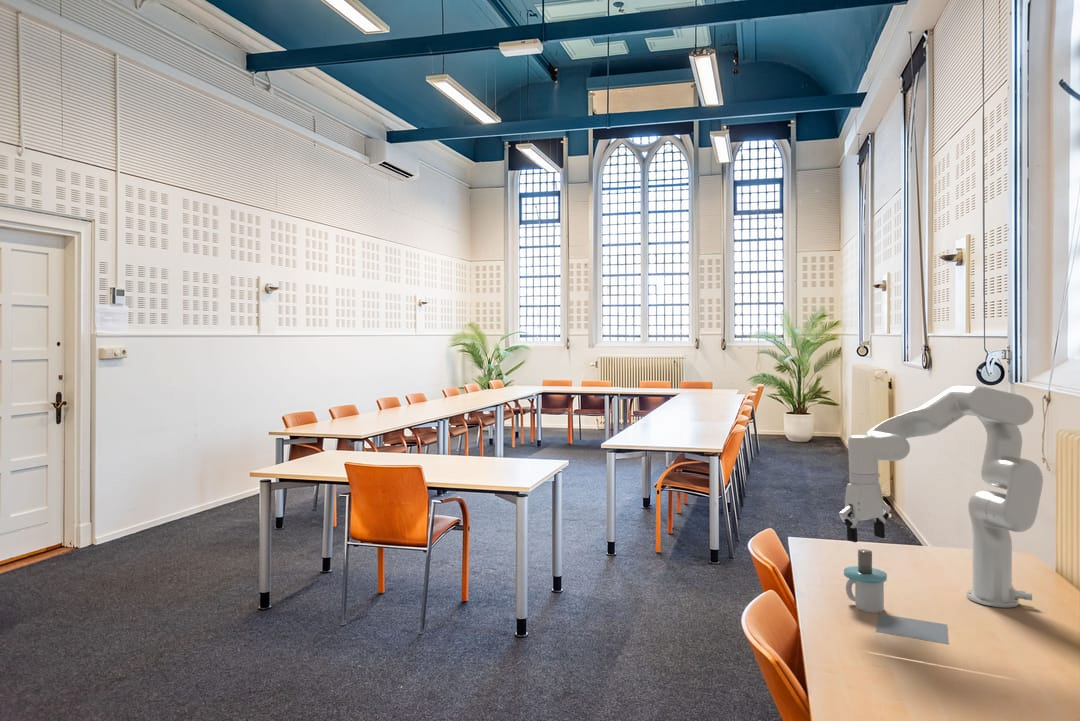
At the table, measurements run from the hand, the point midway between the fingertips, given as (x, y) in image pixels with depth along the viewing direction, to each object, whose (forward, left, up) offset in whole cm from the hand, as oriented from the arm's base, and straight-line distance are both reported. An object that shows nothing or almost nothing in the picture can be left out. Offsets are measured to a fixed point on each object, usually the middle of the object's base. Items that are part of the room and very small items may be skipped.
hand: (866, 539), depth 192 cm
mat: (-11, +11, -19) cm, 25 cm away
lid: (0, 0, -11) cm, 11 cm away
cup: (+1, 0, -20) cm, 20 cm away
